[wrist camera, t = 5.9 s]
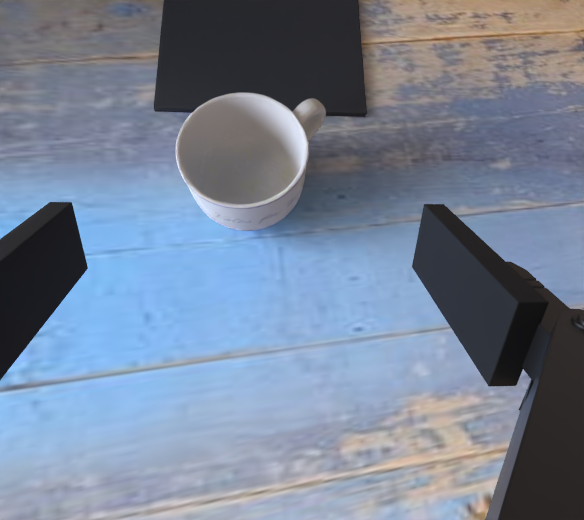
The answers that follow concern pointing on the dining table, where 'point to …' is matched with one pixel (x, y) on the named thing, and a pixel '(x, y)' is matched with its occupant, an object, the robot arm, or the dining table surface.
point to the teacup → (247, 157)
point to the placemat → (261, 53)
